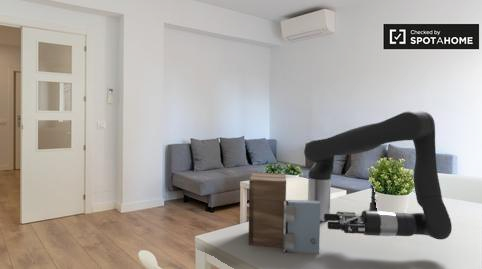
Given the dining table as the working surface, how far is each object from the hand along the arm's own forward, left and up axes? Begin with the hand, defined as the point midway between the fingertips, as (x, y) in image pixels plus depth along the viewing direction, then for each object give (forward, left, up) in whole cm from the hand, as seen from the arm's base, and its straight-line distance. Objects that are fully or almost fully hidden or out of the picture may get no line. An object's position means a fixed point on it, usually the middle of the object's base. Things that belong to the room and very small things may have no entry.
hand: (325, 220), depth 107 cm
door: (0, -7, -10) cm, 12 cm away
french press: (-51, +32, -10) cm, 61 cm away
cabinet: (-7, -17, -10) cm, 21 cm away
